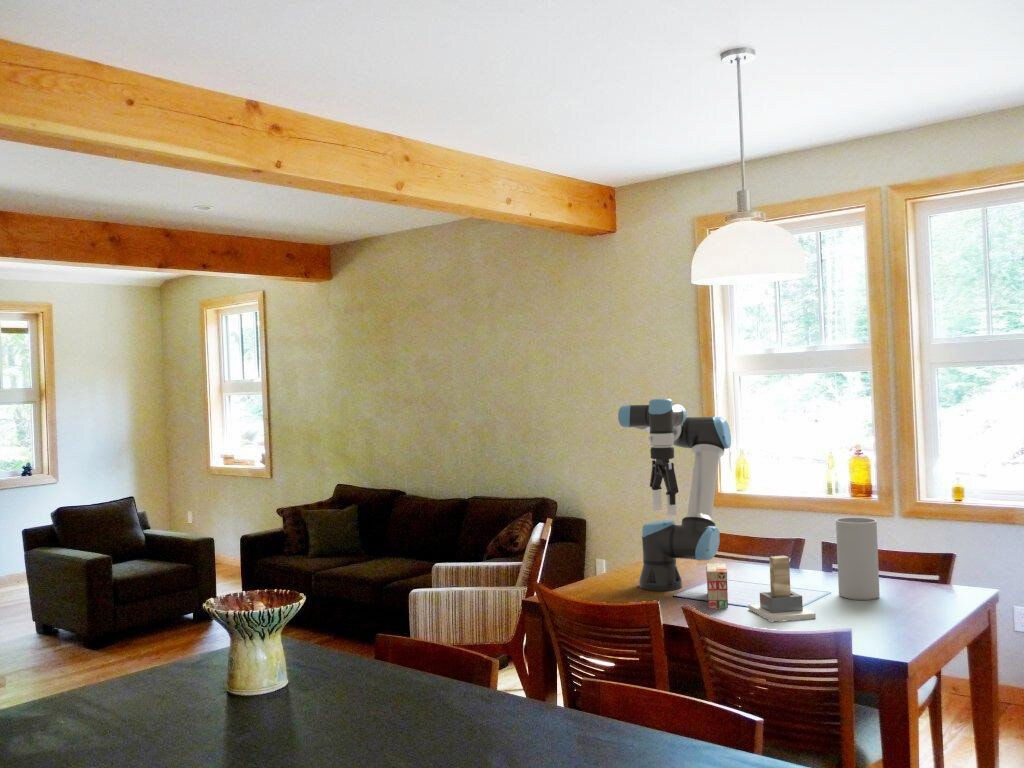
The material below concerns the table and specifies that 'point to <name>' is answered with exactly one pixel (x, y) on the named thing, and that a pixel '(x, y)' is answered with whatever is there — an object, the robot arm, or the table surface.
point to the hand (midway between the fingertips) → (664, 512)
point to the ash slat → (779, 576)
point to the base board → (782, 614)
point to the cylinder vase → (857, 558)
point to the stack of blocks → (717, 586)
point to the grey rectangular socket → (781, 603)
